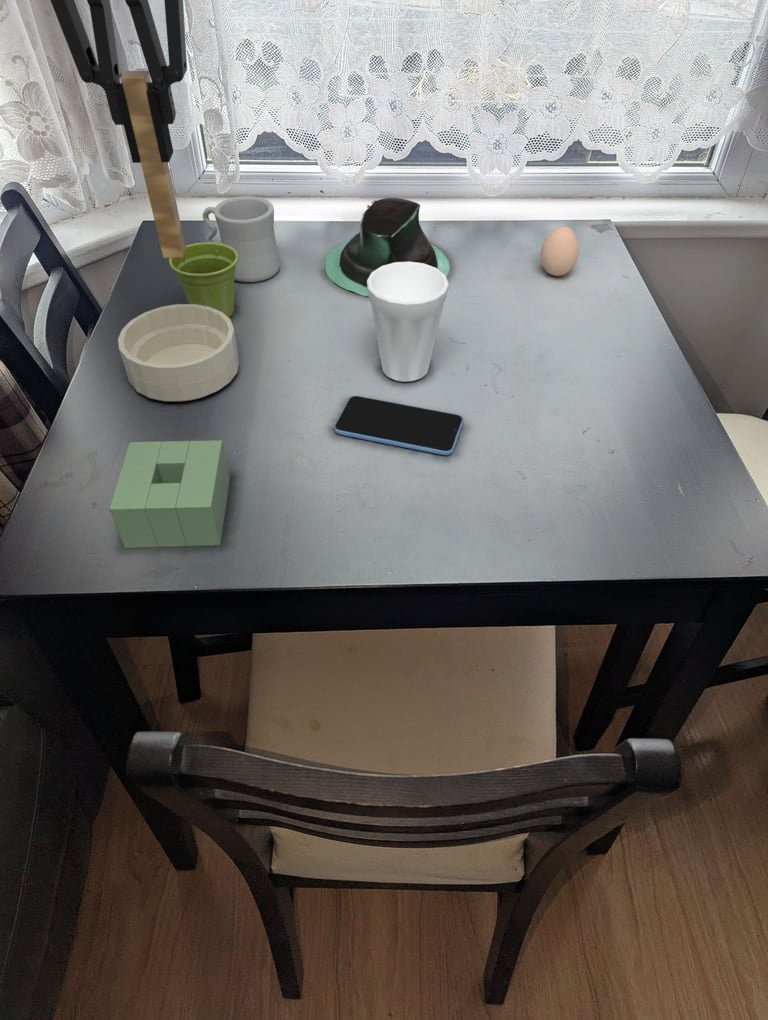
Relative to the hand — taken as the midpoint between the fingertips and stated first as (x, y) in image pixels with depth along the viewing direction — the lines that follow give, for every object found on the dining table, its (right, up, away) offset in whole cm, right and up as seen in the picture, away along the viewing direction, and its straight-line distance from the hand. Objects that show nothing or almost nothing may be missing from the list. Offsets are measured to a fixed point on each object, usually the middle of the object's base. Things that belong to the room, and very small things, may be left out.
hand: (153, 156), depth 74 cm
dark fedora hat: (+24, +3, +43) cm, 49 cm away
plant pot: (-2, -7, +33) cm, 34 cm away
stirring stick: (0, -7, +8) cm, 10 cm away
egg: (+51, +1, +41) cm, 66 cm away
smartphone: (+25, -26, +15) cm, 39 cm away
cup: (+26, -17, +24) cm, 40 cm away
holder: (+1, -36, +5) cm, 37 cm away
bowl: (-3, -18, +23) cm, 29 cm away
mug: (+1, +2, +42) cm, 42 cm away
